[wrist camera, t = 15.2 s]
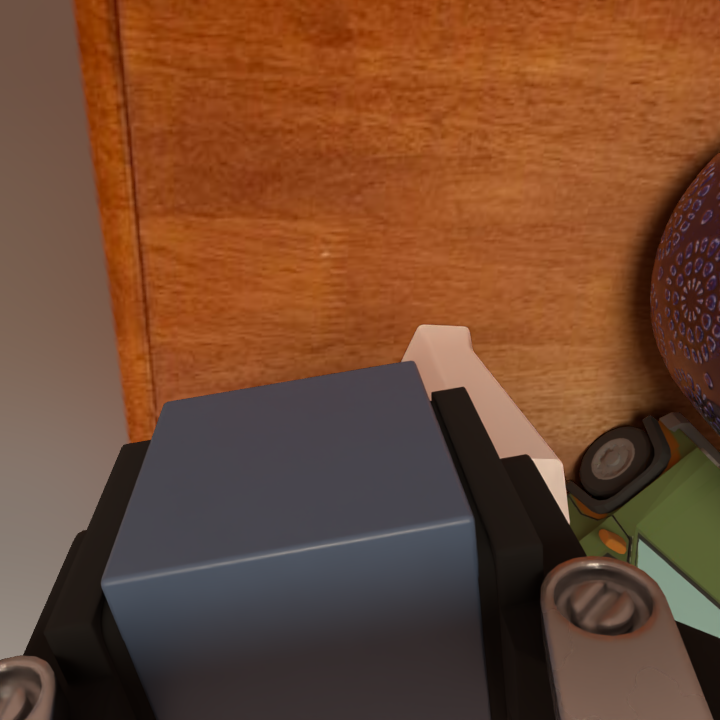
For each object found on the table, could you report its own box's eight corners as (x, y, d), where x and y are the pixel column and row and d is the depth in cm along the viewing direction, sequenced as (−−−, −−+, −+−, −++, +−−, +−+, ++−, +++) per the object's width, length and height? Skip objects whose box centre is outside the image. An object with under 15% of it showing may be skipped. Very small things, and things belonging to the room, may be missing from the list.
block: (222, 591, 12) (192, 818, 9) (162, 400, 11) (96, 583, 7) (438, 553, 12) (497, 761, 9) (414, 357, 11) (475, 517, 7)
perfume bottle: (383, 327, 33) (443, 524, 20) (471, 305, 33) (593, 488, 20) (401, 407, 35) (468, 637, 22) (485, 386, 35) (604, 604, 22)
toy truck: (757, 492, 40) (893, 627, 30) (485, 698, 45) (533, 863, 36) (643, 375, 36) (760, 490, 27) (360, 617, 41) (378, 779, 32)
